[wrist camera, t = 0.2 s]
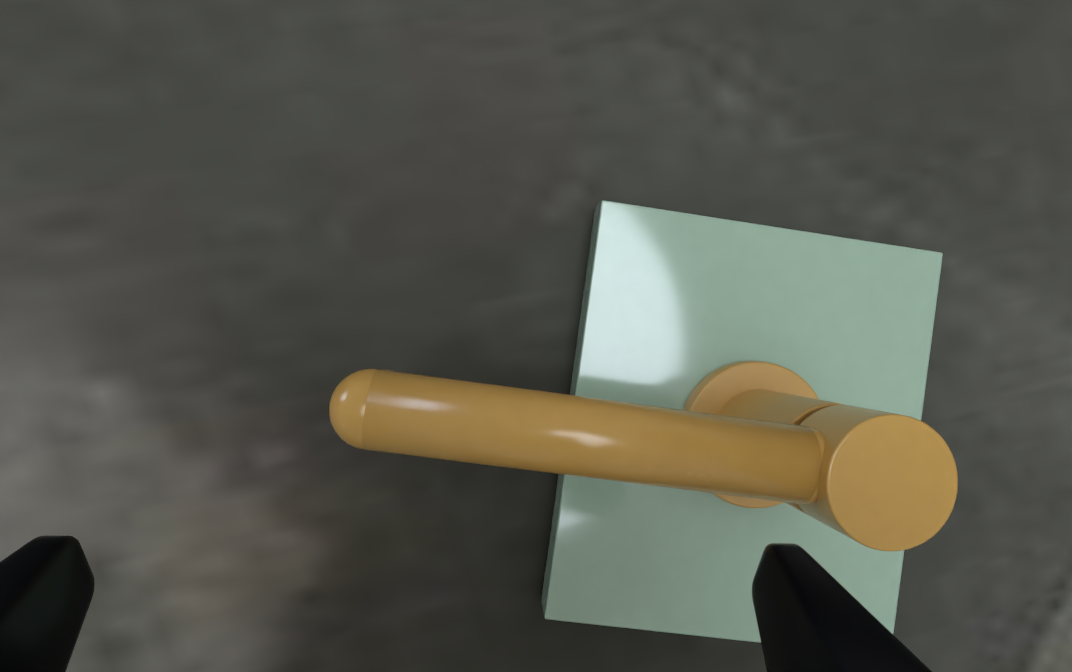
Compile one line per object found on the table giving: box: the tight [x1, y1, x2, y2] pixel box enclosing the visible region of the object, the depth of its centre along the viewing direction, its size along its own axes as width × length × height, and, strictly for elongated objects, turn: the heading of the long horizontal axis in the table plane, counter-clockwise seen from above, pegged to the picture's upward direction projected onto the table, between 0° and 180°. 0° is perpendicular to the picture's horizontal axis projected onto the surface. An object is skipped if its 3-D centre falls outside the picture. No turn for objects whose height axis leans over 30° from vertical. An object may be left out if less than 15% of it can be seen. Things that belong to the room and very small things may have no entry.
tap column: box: [683, 361, 845, 516], centre depth 20 cm, size 5×5×6 cm
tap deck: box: [541, 200, 943, 643], centre depth 24 cm, size 14×12×2 cm
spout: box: [329, 369, 958, 552], centre depth 16 cm, size 14×3×3 cm, turn 82°
